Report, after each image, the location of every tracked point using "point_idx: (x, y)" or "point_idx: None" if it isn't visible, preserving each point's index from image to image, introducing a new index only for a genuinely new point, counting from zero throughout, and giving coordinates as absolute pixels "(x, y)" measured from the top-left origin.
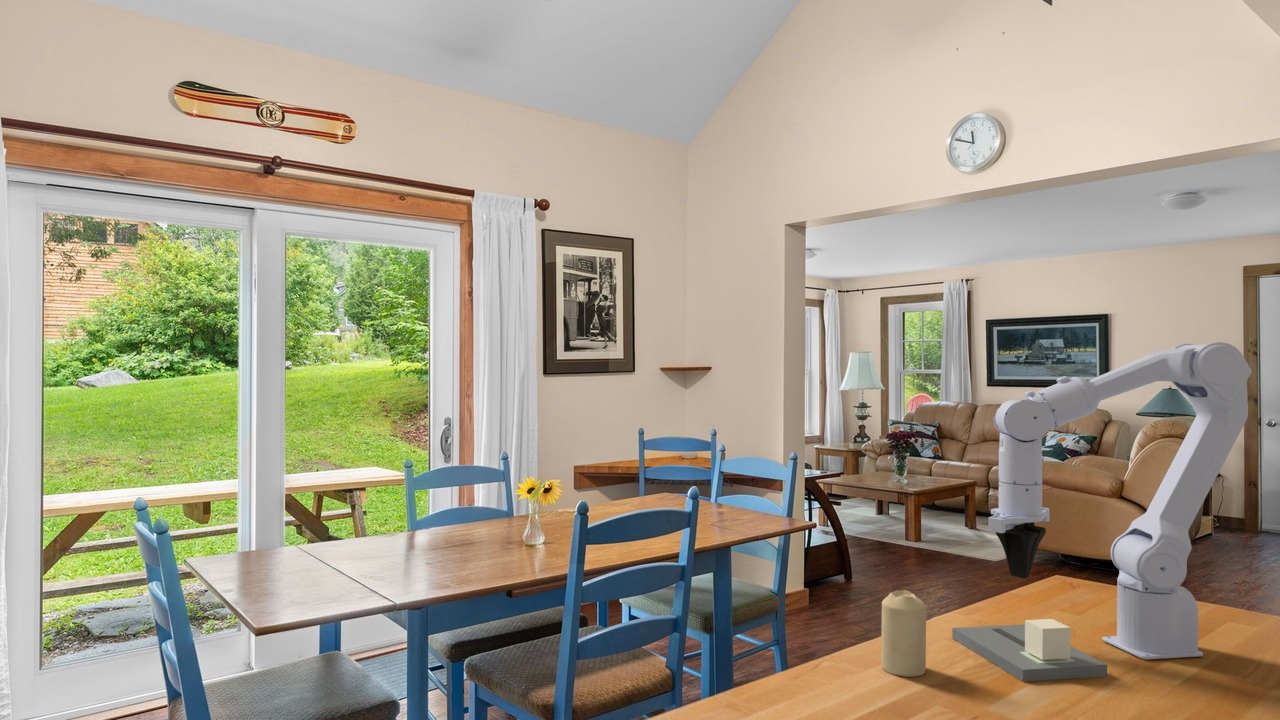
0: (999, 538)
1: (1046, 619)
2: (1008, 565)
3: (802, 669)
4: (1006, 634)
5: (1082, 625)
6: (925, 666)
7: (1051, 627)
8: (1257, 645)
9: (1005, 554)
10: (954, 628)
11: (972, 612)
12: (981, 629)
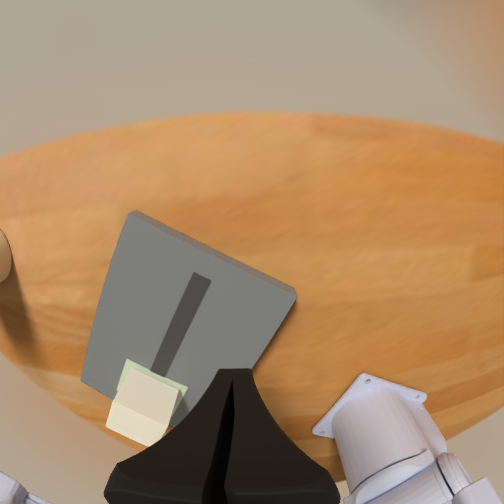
0: (142, 453)
1: (154, 421)
2: (209, 385)
3: None
4: (187, 307)
5: (424, 314)
6: (2, 280)
7: (124, 433)
8: (452, 432)
9: (192, 409)
10: (128, 218)
11: (346, 133)
12: (173, 257)
